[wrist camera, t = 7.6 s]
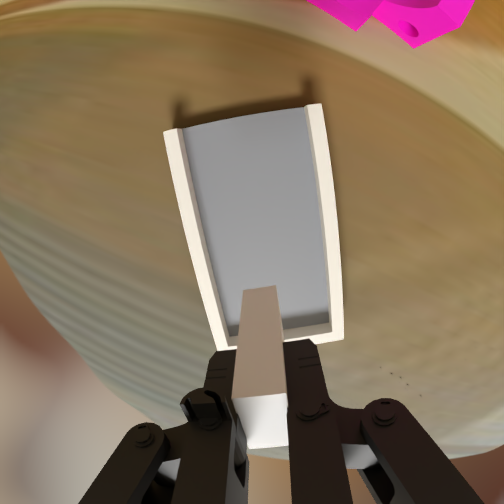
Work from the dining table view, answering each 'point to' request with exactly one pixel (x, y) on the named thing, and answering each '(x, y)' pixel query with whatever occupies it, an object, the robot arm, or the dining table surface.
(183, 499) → the robot arm
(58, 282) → the dining table surface
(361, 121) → the dining table surface
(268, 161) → the tray
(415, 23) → the toy block
